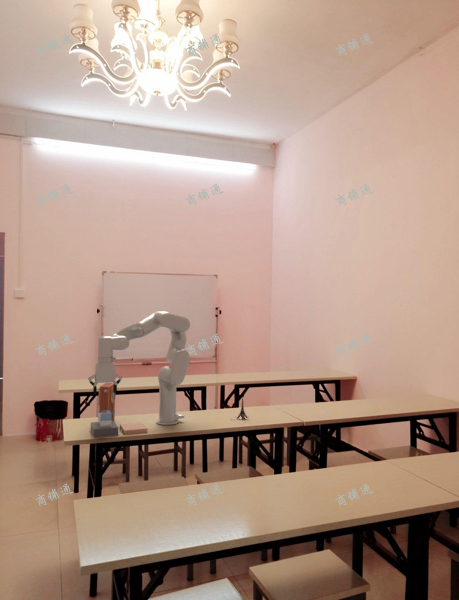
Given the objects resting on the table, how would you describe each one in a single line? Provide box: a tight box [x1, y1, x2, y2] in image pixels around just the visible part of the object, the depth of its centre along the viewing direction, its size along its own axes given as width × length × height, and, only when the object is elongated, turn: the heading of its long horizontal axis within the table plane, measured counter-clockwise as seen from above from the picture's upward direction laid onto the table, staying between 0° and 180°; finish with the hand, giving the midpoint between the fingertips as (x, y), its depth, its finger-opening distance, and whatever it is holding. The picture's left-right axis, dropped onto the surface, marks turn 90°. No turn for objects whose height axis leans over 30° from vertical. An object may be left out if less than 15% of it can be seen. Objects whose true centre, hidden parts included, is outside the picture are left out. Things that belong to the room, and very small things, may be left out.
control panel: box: [98, 382, 117, 421], centre depth 261 cm, size 21×7×15 cm
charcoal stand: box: [90, 420, 119, 438], centre depth 241 cm, size 12×14×4 cm
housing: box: [97, 410, 112, 427], centre depth 241 cm, size 6×9×6 cm, turn 23°
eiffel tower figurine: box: [236, 397, 249, 421], centre depth 276 cm, size 15×10×13 cm
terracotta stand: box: [119, 421, 149, 436], centre depth 247 cm, size 12×14×2 cm
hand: (105, 393), depth 242 cm, fingers open, 9 cm apart
